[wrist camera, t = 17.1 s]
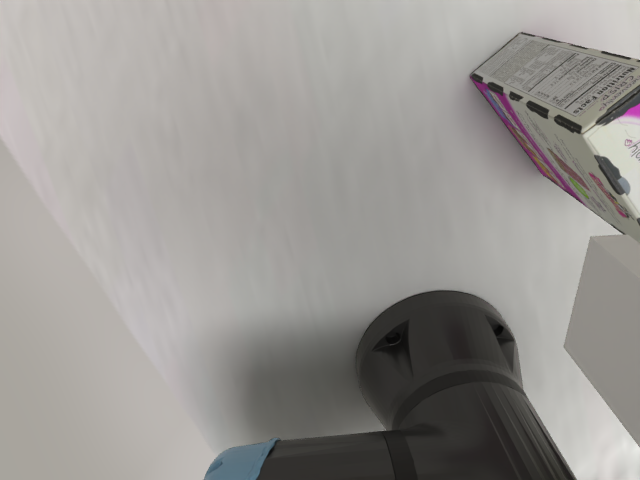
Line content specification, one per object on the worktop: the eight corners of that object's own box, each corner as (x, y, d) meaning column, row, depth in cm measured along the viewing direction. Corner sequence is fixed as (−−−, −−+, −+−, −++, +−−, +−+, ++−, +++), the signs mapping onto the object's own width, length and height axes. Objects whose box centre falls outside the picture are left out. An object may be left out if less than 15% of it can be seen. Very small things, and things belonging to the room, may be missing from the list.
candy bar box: (595, 134, 42) (763, 224, 28) (542, 175, 44) (676, 282, 29) (521, 24, 38) (676, 62, 23) (465, 74, 39) (579, 139, 25)
